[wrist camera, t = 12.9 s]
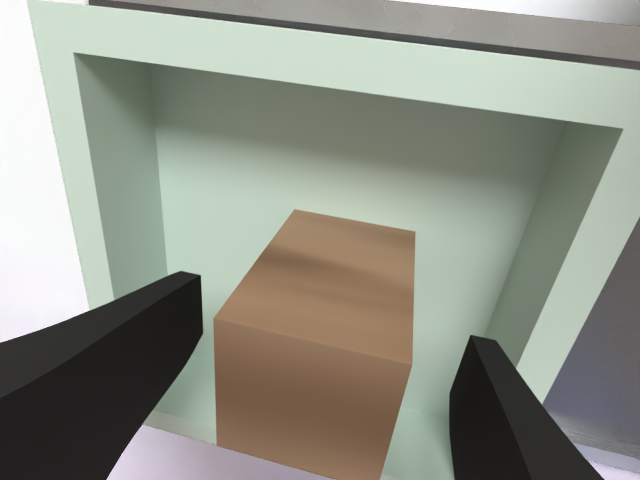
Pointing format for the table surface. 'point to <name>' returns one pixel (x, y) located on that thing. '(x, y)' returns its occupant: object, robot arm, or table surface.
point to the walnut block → (318, 347)
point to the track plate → (523, 40)
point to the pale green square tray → (344, 182)
